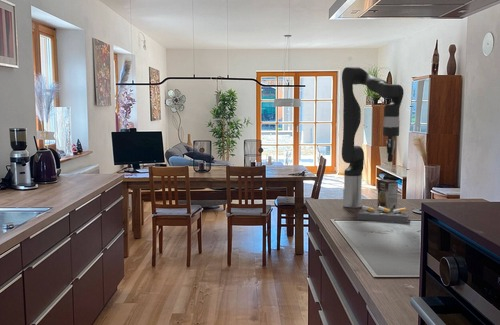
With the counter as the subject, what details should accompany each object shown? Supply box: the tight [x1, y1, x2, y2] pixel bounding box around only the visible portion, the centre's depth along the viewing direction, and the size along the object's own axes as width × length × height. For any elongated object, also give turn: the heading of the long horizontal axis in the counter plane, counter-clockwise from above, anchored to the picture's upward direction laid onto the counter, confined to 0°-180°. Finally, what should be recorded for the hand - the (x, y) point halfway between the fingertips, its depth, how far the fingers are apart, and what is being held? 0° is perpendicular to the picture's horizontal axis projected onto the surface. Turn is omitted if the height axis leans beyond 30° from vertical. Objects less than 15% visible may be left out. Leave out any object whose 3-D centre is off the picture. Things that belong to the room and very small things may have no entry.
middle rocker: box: [377, 206, 390, 213], centre depth 230 cm, size 6×4×2 cm, turn 69°
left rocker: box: [361, 204, 375, 212], centre depth 233 cm, size 6×4×2 cm, turn 69°
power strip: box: [356, 209, 410, 224], centre depth 228 cm, size 23×9×3 cm, turn 69°
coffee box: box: [377, 179, 399, 212], centre depth 247 cm, size 9×6×16 cm
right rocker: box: [393, 207, 407, 213], centre depth 227 cm, size 6×4×2 cm, turn 69°
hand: (390, 161), depth 232 cm, fingers closed
